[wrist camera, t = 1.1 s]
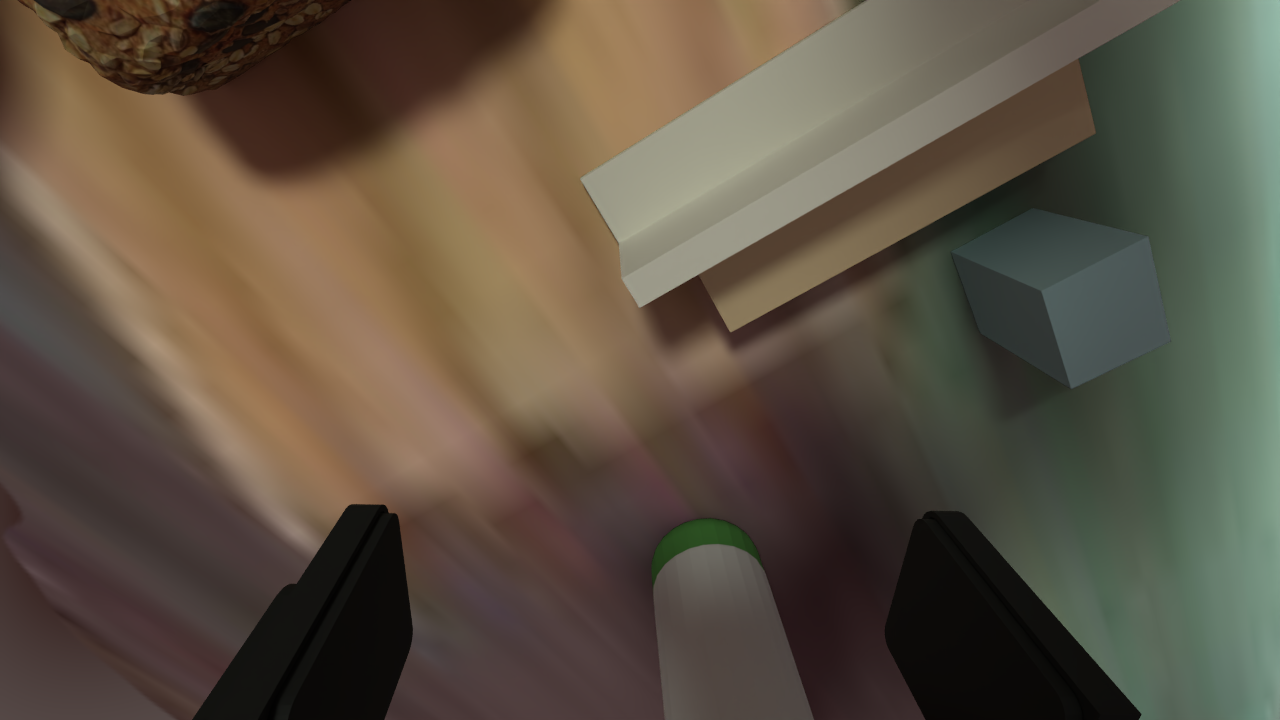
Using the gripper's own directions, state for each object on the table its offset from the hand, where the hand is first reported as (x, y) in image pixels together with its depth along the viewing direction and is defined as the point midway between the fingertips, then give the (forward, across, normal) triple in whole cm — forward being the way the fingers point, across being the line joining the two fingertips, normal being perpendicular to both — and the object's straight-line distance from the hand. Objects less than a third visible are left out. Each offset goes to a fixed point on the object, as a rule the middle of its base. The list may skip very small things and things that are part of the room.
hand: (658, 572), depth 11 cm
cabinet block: (+25, -23, 0) cm, 34 cm away
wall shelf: (+25, -11, -7) cm, 29 cm away
